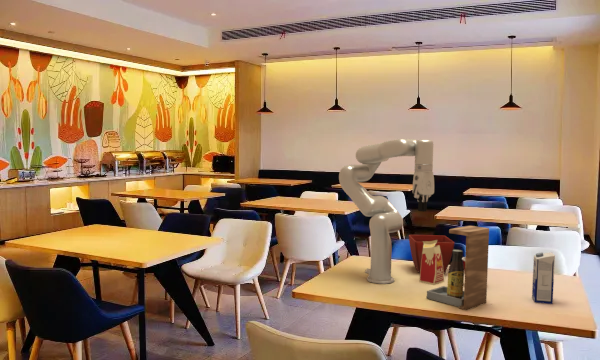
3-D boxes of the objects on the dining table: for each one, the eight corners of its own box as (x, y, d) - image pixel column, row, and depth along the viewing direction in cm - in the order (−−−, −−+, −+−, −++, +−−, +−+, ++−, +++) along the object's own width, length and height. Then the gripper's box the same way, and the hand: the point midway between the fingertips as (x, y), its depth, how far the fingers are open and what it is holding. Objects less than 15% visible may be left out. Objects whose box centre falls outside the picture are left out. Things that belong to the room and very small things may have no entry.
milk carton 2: (552, 304, 210) (555, 255, 208) (534, 302, 211) (536, 254, 210) (549, 299, 216) (551, 251, 215) (531, 297, 218) (533, 250, 217)
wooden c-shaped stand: (446, 305, 206) (449, 229, 204) (467, 298, 216) (469, 225, 214) (466, 310, 200) (469, 232, 198) (486, 302, 210) (489, 228, 208)
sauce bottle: (450, 300, 209) (451, 252, 208) (444, 296, 215) (445, 248, 214) (465, 300, 209) (467, 252, 208) (459, 296, 216) (461, 248, 214)
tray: (426, 298, 215) (426, 291, 215) (442, 292, 223) (443, 286, 223) (461, 307, 203) (461, 299, 203) (477, 301, 211) (477, 294, 211)
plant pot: (453, 276, 253) (455, 242, 252) (414, 275, 253) (415, 241, 252) (444, 267, 272) (445, 235, 271) (407, 266, 272) (408, 234, 271)
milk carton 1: (444, 281, 242) (445, 239, 241) (434, 285, 236) (436, 241, 234) (426, 278, 249) (428, 236, 247) (416, 281, 242) (418, 239, 241)
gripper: (420, 169, 215) (419, 213, 216) (440, 168, 225) (439, 210, 226) (405, 168, 221) (404, 211, 222) (426, 167, 231) (425, 208, 232)
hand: (422, 210), depth 224 cm, fingers closed
